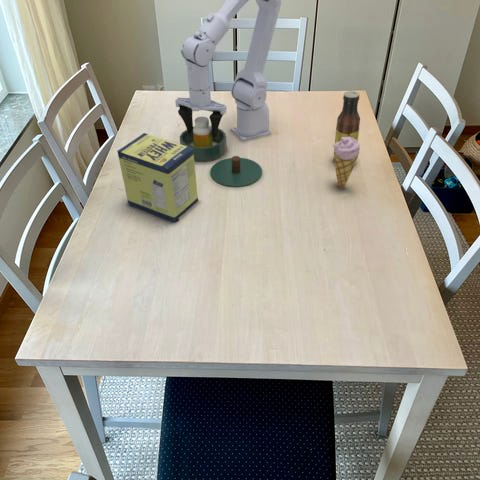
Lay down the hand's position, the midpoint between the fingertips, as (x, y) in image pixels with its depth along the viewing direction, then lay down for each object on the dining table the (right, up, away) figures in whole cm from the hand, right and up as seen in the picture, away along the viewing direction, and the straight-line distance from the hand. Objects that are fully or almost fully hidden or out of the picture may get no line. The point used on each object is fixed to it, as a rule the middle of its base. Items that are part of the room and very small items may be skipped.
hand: (202, 133), depth 143 cm
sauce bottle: (+40, -9, -1) cm, 41 cm away
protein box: (-9, -23, -14) cm, 28 cm away
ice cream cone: (+38, -18, -9) cm, 43 cm away
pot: (0, -4, +4) cm, 6 cm away
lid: (+10, -12, -5) cm, 17 cm away
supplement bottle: (0, -4, +4) cm, 6 cm away
